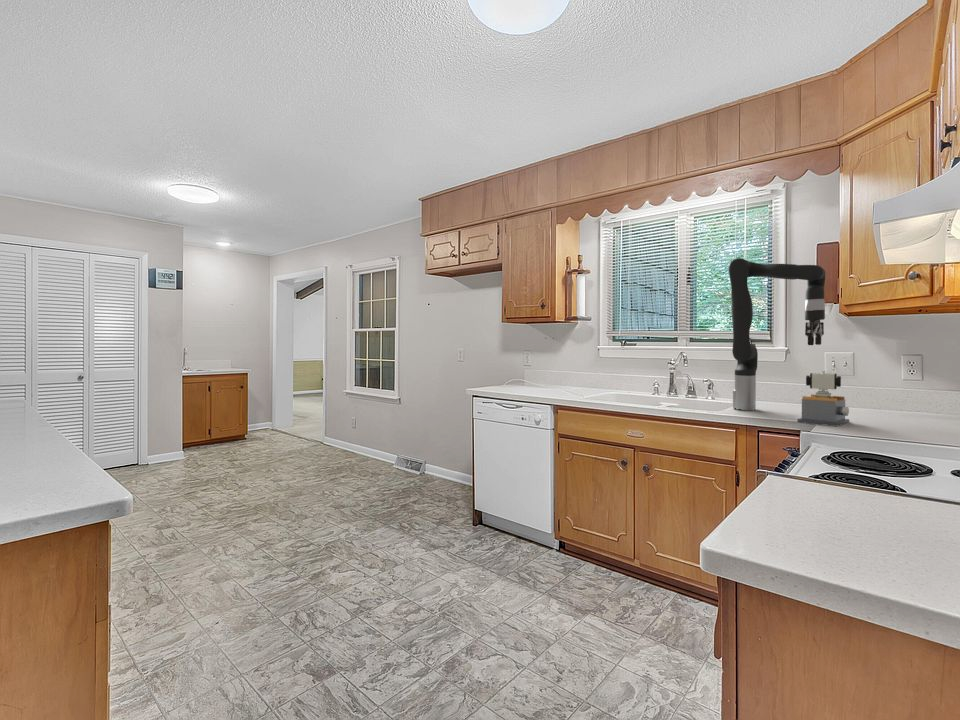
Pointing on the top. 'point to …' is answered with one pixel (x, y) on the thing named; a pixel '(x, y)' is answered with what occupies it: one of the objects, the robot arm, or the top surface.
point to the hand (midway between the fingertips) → (814, 344)
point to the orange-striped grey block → (824, 410)
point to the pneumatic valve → (823, 383)
